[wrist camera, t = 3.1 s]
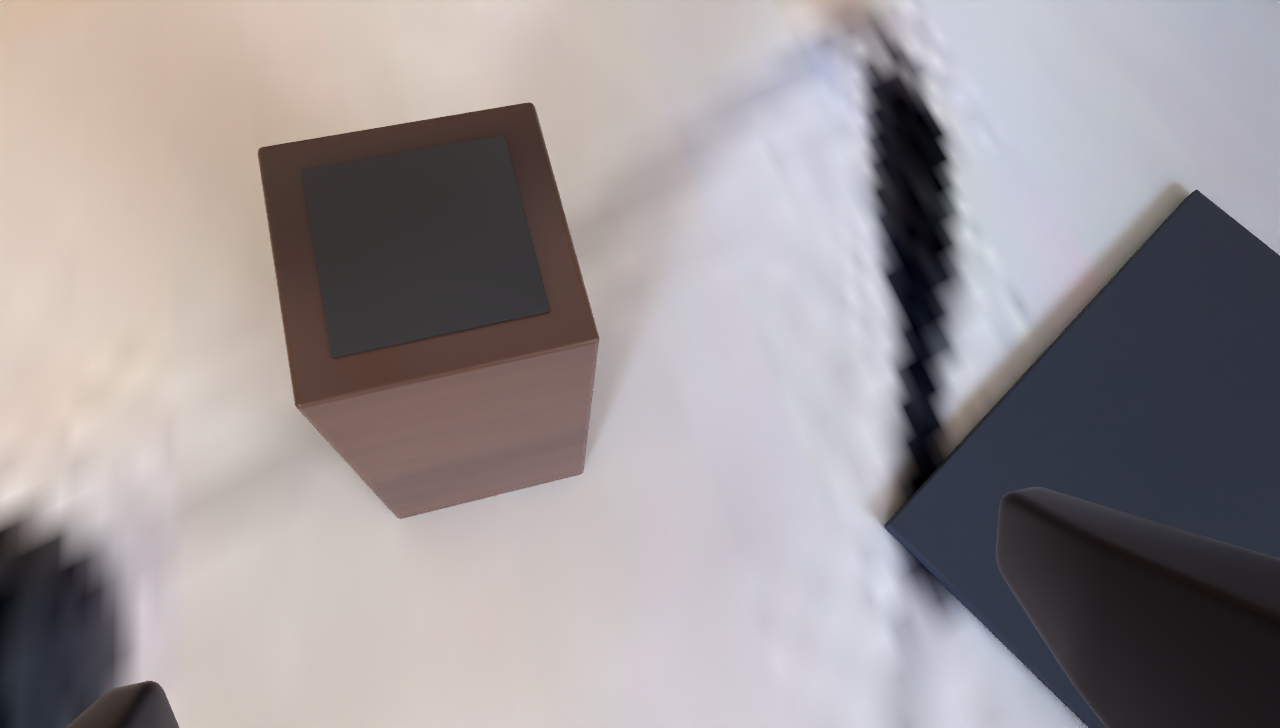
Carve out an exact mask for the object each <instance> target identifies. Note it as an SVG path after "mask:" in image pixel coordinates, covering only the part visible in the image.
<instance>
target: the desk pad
mask: <svg viewBox="0 0 1280 728" xmlns="http://www.w3.org/2000/svg"><path fill="white" fill-rule="evenodd" d="M1030 487H1043V488H1047V489H1050V490H1054V491H1057V492H1060V493H1063V494H1067V495H1070V496H1073V497H1077V498H1080V499H1083V500H1087V501H1090V502H1093V503H1097V504H1100V505H1103V506H1107V507H1110V508H1113V509H1117V510H1120V511H1123V512H1127V513H1130V514H1133V515H1137V516H1140V517H1143V518H1147V519H1150V520H1153V521H1156V522H1160V523H1163V524H1166V525H1170V526H1173V527H1176V528H1180V529H1183V530H1186V531H1190V532H1193V533H1196V534H1200V535H1203V536H1206V537H1210V538H1213V539H1216V540H1220V541H1223V542H1226V543H1230V544H1233V545H1236V546H1240V547H1243V548H1246V549H1249V550H1253V551H1256V552H1259V553H1263V554H1266V555H1269V556H1273V557H1276V558H1279V559H1280V256H1279V255H1278V254H1277V253H1275V252H1274V251H1273V250H1272V249H1270V248H1269V247H1268V246H1267V245H1265V244H1264V243H1263V242H1262V241H1260V240H1259V239H1258V238H1257V237H1255V236H1254V235H1253V234H1252V233H1250V232H1249V231H1248V230H1247V229H1245V228H1244V227H1243V226H1242V225H1240V224H1239V223H1238V222H1237V221H1235V220H1234V219H1233V218H1232V217H1230V216H1229V215H1228V214H1227V213H1225V212H1224V211H1223V210H1222V209H1220V208H1219V207H1218V206H1217V205H1215V204H1214V203H1213V202H1212V201H1210V200H1209V199H1208V198H1207V197H1205V196H1204V195H1203V194H1202V193H1200V192H1199V191H1198V190H1195V191H1194V192H1192V193H1191V194H1190V195H1189V196H1188V197H1187V198H1186V199H1185V200H1184V201H1183V202H1182V203H1181V204H1180V205H1179V206H1178V208H1177V209H1176V210H1175V211H1174V212H1173V213H1172V214H1171V215H1170V216H1169V217H1168V218H1167V219H1166V221H1165V222H1164V223H1163V224H1162V225H1161V226H1160V227H1159V228H1158V229H1157V230H1156V231H1155V233H1154V234H1153V235H1152V236H1151V237H1150V238H1149V239H1148V240H1147V241H1146V242H1145V243H1144V244H1143V246H1142V247H1141V248H1140V249H1139V250H1138V251H1137V252H1136V253H1135V254H1134V255H1133V256H1132V257H1131V259H1130V260H1129V261H1128V262H1127V263H1126V264H1125V265H1124V266H1123V267H1122V268H1121V269H1120V270H1119V272H1118V273H1117V274H1116V275H1115V276H1114V277H1113V278H1112V279H1111V280H1110V281H1109V282H1108V284H1107V285H1106V286H1105V287H1104V288H1103V289H1102V290H1101V291H1100V292H1099V293H1098V294H1097V295H1096V297H1095V298H1094V299H1093V300H1092V301H1091V302H1090V303H1089V304H1088V305H1087V306H1086V307H1085V308H1084V310H1083V311H1082V312H1081V313H1080V314H1079V315H1078V316H1077V317H1076V318H1075V319H1074V320H1073V322H1072V323H1071V324H1070V325H1069V326H1068V327H1067V328H1066V329H1065V330H1064V331H1063V332H1062V333H1061V335H1060V336H1059V337H1058V338H1057V339H1056V340H1055V341H1054V342H1053V343H1052V344H1051V345H1050V346H1049V348H1048V349H1047V350H1046V351H1045V352H1044V353H1043V354H1042V355H1041V356H1040V357H1039V358H1038V359H1037V361H1036V362H1035V363H1034V364H1033V365H1032V366H1031V367H1030V368H1029V369H1028V370H1027V371H1026V373H1025V374H1024V375H1023V376H1022V377H1021V378H1020V379H1019V380H1018V381H1017V382H1016V383H1015V384H1014V386H1013V387H1012V388H1011V389H1010V390H1009V391H1008V392H1007V393H1006V394H1005V395H1004V396H1003V397H1002V399H1001V400H1000V401H999V402H998V403H997V404H996V405H995V406H994V407H993V408H992V409H991V410H990V412H989V413H988V414H987V415H986V416H985V417H984V418H983V419H982V420H981V421H980V422H979V424H978V425H977V426H976V427H975V428H974V429H973V430H972V431H971V432H970V433H969V434H968V435H967V437H966V438H965V439H964V440H963V441H962V442H961V443H960V444H959V445H958V446H957V447H956V448H955V450H954V451H953V452H952V453H951V454H950V455H949V456H948V457H947V458H946V459H945V460H944V461H943V463H942V464H941V465H940V466H939V467H938V468H937V469H936V470H935V471H934V472H933V473H932V475H931V476H930V477H929V478H928V479H927V480H926V481H925V482H924V483H923V484H922V485H921V486H920V488H919V489H918V490H917V491H916V492H915V493H914V494H913V495H912V496H911V497H910V498H909V499H908V501H907V502H906V503H905V504H904V505H903V506H902V507H901V508H900V509H899V510H898V511H897V513H896V514H895V515H894V516H893V517H892V518H891V519H890V520H889V521H888V522H887V523H886V524H885V526H884V527H885V528H886V529H887V530H888V531H889V532H890V533H891V534H892V535H893V536H894V537H895V538H896V539H897V540H898V541H899V542H900V543H901V544H902V545H903V546H904V547H905V548H906V549H907V550H908V551H909V552H911V553H912V554H913V555H914V556H915V557H916V558H917V559H918V560H919V561H920V562H921V563H922V564H923V565H924V566H925V567H926V568H927V569H928V570H929V571H930V572H931V573H932V574H933V575H934V576H935V577H936V578H937V579H938V580H939V581H940V582H941V583H942V584H943V585H944V586H945V587H946V588H947V589H948V590H949V591H950V592H951V593H952V594H953V595H954V596H955V597H956V598H957V599H958V600H960V601H961V602H962V603H963V604H964V605H965V606H966V607H967V608H968V609H969V610H970V611H971V612H972V613H973V614H974V615H975V616H976V617H977V618H978V619H979V620H980V621H981V622H982V623H983V624H984V625H985V626H986V627H987V628H988V629H989V630H990V631H991V632H992V633H993V634H994V635H995V636H996V637H997V638H998V639H999V640H1000V641H1001V642H1002V643H1003V644H1004V645H1005V646H1006V647H1007V648H1009V649H1010V650H1011V651H1012V652H1013V653H1014V654H1015V655H1016V656H1017V657H1018V658H1019V659H1020V660H1021V661H1022V662H1023V663H1024V664H1025V665H1026V666H1027V667H1028V668H1029V669H1030V670H1031V671H1032V672H1033V673H1034V674H1035V675H1036V676H1037V677H1038V678H1039V679H1040V680H1041V681H1042V682H1043V683H1044V684H1045V685H1046V686H1047V687H1048V688H1049V689H1050V690H1051V691H1052V692H1053V693H1054V694H1055V695H1056V696H1058V697H1059V698H1060V699H1061V700H1062V701H1063V702H1064V703H1065V704H1066V705H1067V706H1068V707H1069V708H1070V709H1071V710H1072V711H1073V712H1074V713H1075V714H1076V715H1077V716H1078V717H1079V718H1080V719H1081V720H1082V721H1083V722H1084V723H1085V724H1086V725H1087V726H1088V727H1089V728H1106V727H1105V725H1104V724H1103V723H1102V722H1101V720H1100V719H1099V718H1098V716H1097V715H1096V714H1095V713H1094V711H1093V710H1092V709H1091V708H1090V706H1089V705H1088V704H1087V702H1086V701H1085V700H1084V698H1083V697H1082V696H1081V695H1080V693H1079V692H1078V691H1077V689H1076V688H1075V687H1074V685H1073V684H1072V682H1071V681H1070V679H1069V678H1068V676H1067V675H1066V674H1065V672H1064V671H1063V669H1062V668H1061V666H1060V665H1059V663H1058V662H1057V660H1056V658H1055V657H1054V655H1053V654H1052V652H1051V651H1050V649H1049V648H1048V646H1047V644H1046V643H1045V641H1044V640H1043V638H1042V637H1041V635H1040V634H1039V632H1038V631H1037V629H1036V627H1035V626H1034V624H1033V623H1032V621H1031V620H1030V618H1029V617H1028V615H1027V614H1026V612H1025V610H1024V609H1023V607H1022V606H1021V604H1020V603H1019V601H1018V600H1017V598H1016V597H1015V595H1014V593H1013V592H1012V590H1011V589H1010V587H1009V586H1008V584H1007V583H1006V581H1005V580H1004V578H1003V576H1002V574H1001V572H1000V570H999V568H998V564H997V560H996V542H997V528H998V515H999V505H1000V501H1001V499H1002V497H1003V496H1004V495H1005V494H1006V493H1008V492H1012V491H1017V490H1021V489H1026V488H1030Z"/></svg>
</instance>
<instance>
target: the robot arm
mask: <svg viewBox="0 0 1280 728" xmlns="http://www.w3.org/2000/svg"><path fill="white" fill-rule="evenodd" d="M996 560H997V564H998V568H999V570H1000V572H1001V574H1002V576H1003V578H1004V580H1005V581H1006V583H1007V584H1008V586H1009V587H1010V589H1011V590H1012V592H1013V593H1014V595H1015V597H1016V598H1017V600H1018V601H1019V603H1020V604H1021V606H1022V607H1023V609H1024V610H1025V612H1026V614H1027V615H1028V617H1029V618H1030V620H1031V621H1032V623H1033V624H1034V626H1035V627H1036V629H1037V631H1038V632H1039V634H1040V635H1041V637H1042V638H1043V640H1044V641H1045V643H1046V644H1047V646H1048V648H1049V649H1050V651H1051V652H1052V654H1053V655H1054V657H1055V658H1056V660H1057V662H1058V663H1059V665H1060V666H1061V668H1062V669H1063V671H1064V672H1065V674H1066V675H1067V676H1068V678H1069V679H1070V681H1071V682H1072V684H1073V685H1074V687H1075V688H1076V689H1077V691H1078V692H1079V693H1080V695H1081V696H1082V697H1083V698H1084V700H1085V701H1086V702H1087V704H1088V705H1089V706H1090V708H1091V709H1092V710H1093V711H1094V713H1095V714H1096V715H1097V716H1098V718H1099V719H1100V720H1101V722H1102V723H1103V724H1104V725H1105V727H1106V728H1280V559H1279V558H1276V557H1273V556H1269V555H1266V554H1263V553H1259V552H1256V551H1253V550H1249V549H1246V548H1243V547H1240V546H1236V545H1233V544H1230V543H1226V542H1223V541H1220V540H1216V539H1213V538H1210V537H1206V536H1203V535H1200V534H1196V533H1193V532H1190V531H1186V530H1183V529H1180V528H1176V527H1173V526H1170V525H1166V524H1163V523H1160V522H1156V521H1153V520H1150V519H1147V518H1143V517H1140V516H1137V515H1133V514H1130V513H1127V512H1123V511H1120V510H1117V509H1113V508H1110V507H1107V506H1103V505H1100V504H1097V503H1093V502H1090V501H1087V500H1083V499H1080V498H1077V497H1073V496H1070V495H1067V494H1063V493H1060V492H1057V491H1054V490H1050V489H1047V488H1043V487H1030V488H1026V489H1021V490H1017V491H1012V492H1008V493H1006V494H1005V495H1004V496H1003V497H1002V499H1001V501H1000V505H999V515H998V528H997V542H996ZM66 728H179V726H178V723H177V721H176V719H175V716H174V714H173V711H172V709H171V707H170V704H169V702H168V699H167V697H166V694H165V692H164V690H163V689H162V687H161V686H160V685H159V684H158V683H156V682H153V681H146V682H141V683H137V684H132V685H127V686H123V687H118V688H115V689H112V690H109V691H107V692H106V693H105V694H104V695H102V696H101V697H100V698H99V699H98V700H97V701H95V702H94V703H93V704H92V705H91V706H90V707H89V708H87V709H86V710H85V711H84V712H83V713H82V714H81V715H79V716H78V717H77V718H76V719H75V720H74V721H73V722H71V723H70V724H69V725H68V726H67V727H66Z"/></svg>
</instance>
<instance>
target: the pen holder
mask: <svg viewBox="0 0 1280 728" xmlns="http://www.w3.org/2000/svg"><path fill="white" fill-rule="evenodd" d="M258 158H259V165H260V172H261V178H262V185H263V192H264V199H265V205H266V212H267V219H268V226H269V232H270V239H271V246H272V253H273V259H274V266H275V273H276V279H277V286H278V293H279V300H280V306H281V313H282V320H283V327H284V333H285V340H286V347H287V354H288V360H289V367H290V374H291V380H292V387H293V394H294V401H295V405H296V407H297V408H298V409H299V410H300V411H301V413H302V414H303V415H304V416H305V417H306V418H307V419H308V420H309V421H310V422H311V424H312V425H313V426H314V427H315V428H316V429H317V430H318V431H319V432H320V433H321V434H322V436H323V437H324V438H325V439H326V440H327V441H328V442H329V443H330V444H331V445H332V447H333V448H334V449H335V450H336V451H337V452H338V453H339V454H340V455H341V456H342V457H343V459H344V460H345V461H346V462H347V463H348V464H349V465H350V466H351V467H352V468H353V470H354V471H355V472H356V473H357V474H358V475H359V476H360V477H361V478H362V479H363V481H364V482H365V483H366V484H367V485H368V486H369V487H370V488H371V489H372V490H373V491H374V493H375V494H376V495H377V496H378V497H379V498H380V499H381V500H382V501H383V502H384V504H385V505H386V506H387V507H388V508H389V509H390V510H391V511H392V512H393V513H394V514H395V516H396V517H397V518H400V519H401V518H405V517H409V516H413V515H417V514H422V513H426V512H430V511H434V510H438V509H442V508H446V507H450V506H454V505H458V504H462V503H466V502H470V501H474V500H478V499H482V498H486V497H490V496H494V495H498V494H502V493H506V492H510V491H514V490H518V489H522V488H526V487H530V486H535V485H539V484H543V483H547V482H551V481H555V480H559V479H563V478H567V477H571V476H575V475H579V474H581V473H583V469H584V460H585V452H586V444H587V435H588V427H589V418H590V410H591V402H592V393H593V385H594V376H595V368H596V360H597V351H598V343H599V336H598V332H597V328H596V325H595V321H594V318H593V314H592V310H591V307H590V303H589V300H588V296H587V292H586V289H585V285H584V282H583V278H582V274H581V271H580V267H579V264H578V260H577V256H576V253H575V249H574V246H573V242H572V239H571V235H570V231H569V228H568V224H567V221H566V217H565V213H564V210H563V206H562V203H561V199H560V195H559V192H558V188H557V185H556V181H555V177H554V174H553V170H552V167H551V163H550V159H549V156H548V152H547V149H546V145H545V142H544V138H543V134H542V131H541V127H540V124H539V120H538V116H537V113H536V109H535V106H534V105H533V104H532V103H523V104H517V105H511V106H505V107H499V108H493V109H487V110H481V111H475V112H469V113H464V114H458V115H452V116H446V117H440V118H434V119H428V120H422V121H416V122H410V123H404V124H398V125H392V126H386V127H380V128H374V129H368V130H362V131H356V132H350V133H344V134H339V135H333V136H327V137H321V138H315V139H309V140H303V141H297V142H291V143H285V144H279V145H273V146H267V147H262V148H260V149H259V150H258Z"/></svg>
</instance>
